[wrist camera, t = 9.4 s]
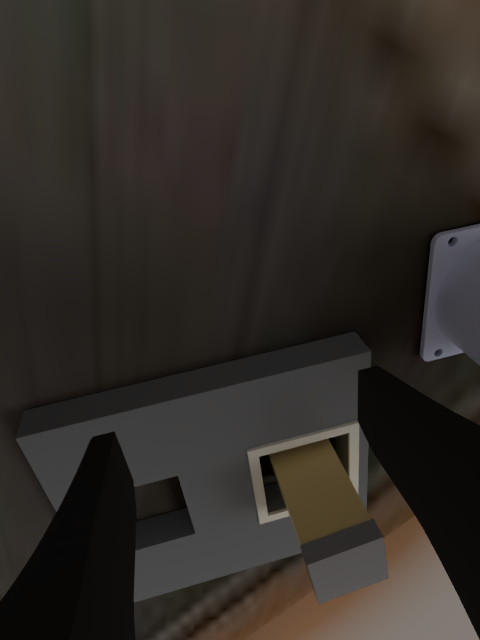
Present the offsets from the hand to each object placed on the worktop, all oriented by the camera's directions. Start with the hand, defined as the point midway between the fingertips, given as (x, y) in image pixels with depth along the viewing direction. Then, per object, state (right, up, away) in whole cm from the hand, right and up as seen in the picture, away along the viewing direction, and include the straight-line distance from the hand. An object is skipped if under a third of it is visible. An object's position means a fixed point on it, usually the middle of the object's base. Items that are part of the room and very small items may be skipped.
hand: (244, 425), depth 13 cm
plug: (+3, -5, +16) cm, 17 cm away
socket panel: (-1, -6, +15) cm, 16 cm away
